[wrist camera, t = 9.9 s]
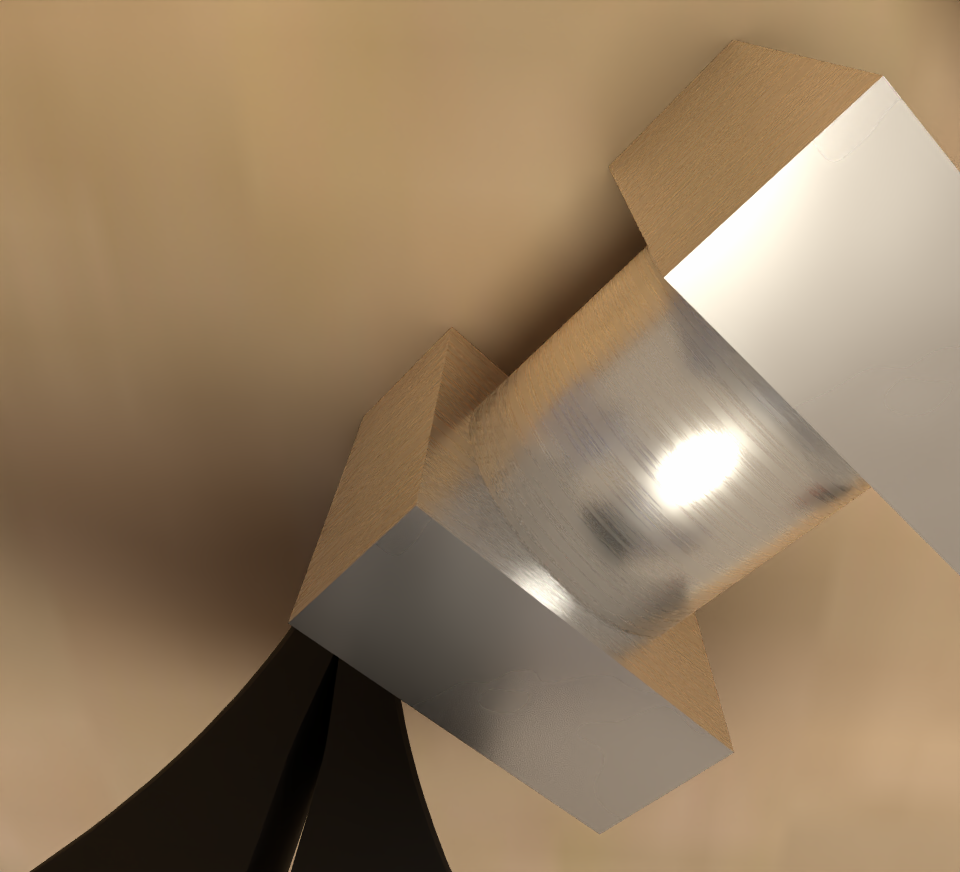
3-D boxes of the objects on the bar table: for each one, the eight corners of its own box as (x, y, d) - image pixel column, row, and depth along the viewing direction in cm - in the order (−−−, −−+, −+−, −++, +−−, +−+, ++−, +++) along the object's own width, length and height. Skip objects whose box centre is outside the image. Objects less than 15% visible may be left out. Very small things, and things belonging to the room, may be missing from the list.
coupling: (575, 586, 14) (599, 834, 10) (364, 416, 12) (288, 622, 8) (950, 296, 11) (1194, 471, 7) (732, 39, 10) (883, 76, 6)
